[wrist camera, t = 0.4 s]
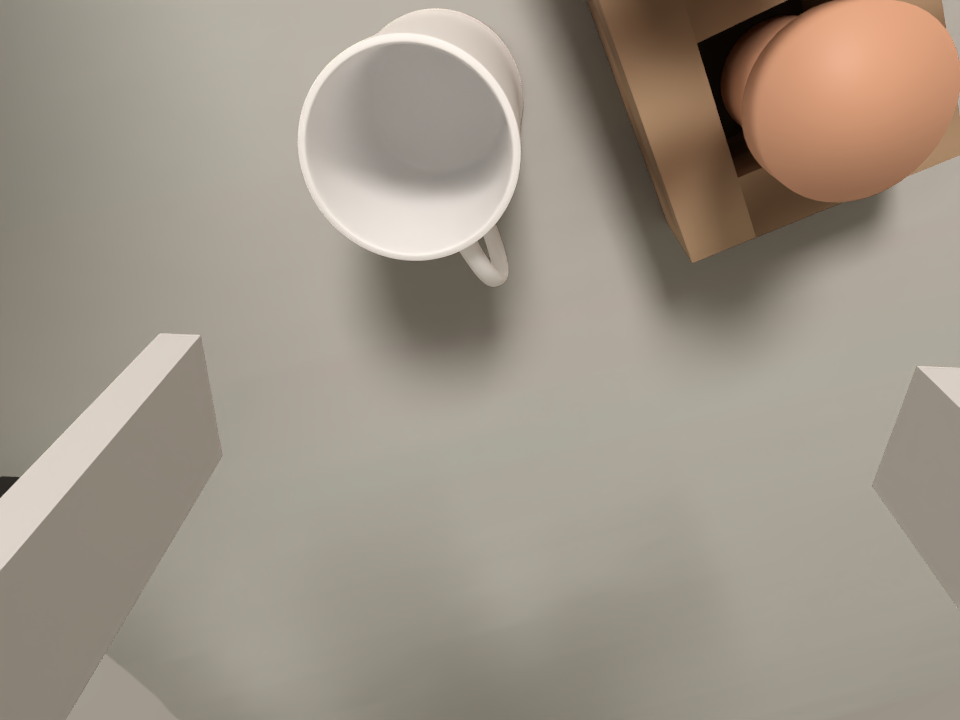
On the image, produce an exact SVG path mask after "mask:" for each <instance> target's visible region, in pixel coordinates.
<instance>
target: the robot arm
mask: <svg viewBox="0 0 960 720" xmlns="http://www.w3.org/2000/svg"><path fill="white" fill-rule="evenodd" d="M221 457H222V450H221V445H220V439H219V434H218V428H217V423H216V417H215V411H214V406H213V400H212V395H211V389H210V384H209V378H208V373H207V367H206V362H205V356H204V350H203V345H202V339H201V335H187V334H164V333H160V334H159V335H158V336H157V337H156V338H155V339H154V340H153V341H152V342H151V343H150V344H149V345H148V346H147V347H146V348H145V349H144V350H143V351H142V352H141V353H140V354H139V355H138V356H137V357H136V358H135V359H134V360H133V361H132V363H131V364H130V365H129V366H128V367H127V368H126V369H125V370H124V371H123V372H122V373H121V374H120V375H119V376H118V377H117V378H116V379H115V380H114V381H113V382H112V383H111V384H110V385H109V386H108V387H107V388H106V389H105V390H104V391H103V392H102V394H101V395H100V396H99V397H98V398H97V399H96V400H95V401H94V402H93V403H92V404H91V405H90V406H89V407H88V408H87V409H86V410H85V411H84V412H83V413H82V414H81V415H80V416H79V417H78V418H77V419H76V420H75V421H74V422H73V423H72V425H71V426H70V427H69V428H68V429H67V430H66V431H65V432H64V433H63V434H62V435H61V436H60V437H59V438H58V439H57V440H56V441H55V442H54V443H53V444H52V445H51V446H50V447H49V448H48V449H47V450H46V451H45V452H44V453H43V454H42V455H41V457H40V458H39V459H38V460H37V461H36V462H35V463H34V464H33V465H32V466H31V467H30V468H29V469H28V470H27V471H26V472H25V473H24V474H23V475H22V476H21V477H5V476H2V477H0V720H66V718H67V716H68V715H69V713H70V712H71V710H72V708H73V707H74V705H75V703H76V702H77V700H78V698H79V696H80V695H81V693H82V691H83V690H84V688H85V686H86V685H87V683H88V681H89V680H90V678H91V676H92V675H93V673H94V671H95V670H96V668H97V666H98V665H99V663H100V661H101V659H102V658H103V656H104V654H105V653H106V651H107V649H108V648H109V646H110V644H111V643H112V641H113V639H114V638H115V636H116V634H117V633H118V631H119V629H120V627H121V626H122V624H123V622H124V621H125V619H126V617H127V616H128V614H129V612H130V611H131V609H132V607H133V606H134V604H135V602H136V601H137V599H138V597H139V595H140V594H141V592H142V590H143V589H144V587H145V585H146V584H147V582H148V580H149V579H150V577H151V575H152V574H153V572H154V570H155V569H156V567H157V565H158V563H159V562H160V560H161V558H162V557H163V555H164V553H165V552H166V550H167V548H168V547H169V545H170V543H171V542H172V540H173V538H174V537H175V535H176V533H177V531H178V530H179V528H180V526H181V525H182V523H183V521H184V520H185V518H186V516H187V515H188V513H189V511H190V510H191V508H192V506H193V505H194V503H195V501H196V499H197V498H198V496H199V494H200V493H201V491H202V489H203V488H204V486H205V484H206V483H207V481H208V479H209V478H210V476H211V474H212V473H213V471H214V469H215V467H216V466H217V464H218V462H219V461H220V459H221ZM872 487H873V488H874V490H875V491H876V492H877V494H878V495H879V497H880V498H881V500H882V501H883V502H884V504H885V505H886V507H887V508H888V510H889V511H890V512H891V514H892V515H893V517H894V518H895V519H896V521H897V522H898V524H899V525H900V527H901V528H902V529H903V531H904V532H905V534H906V535H907V537H908V538H909V539H910V541H911V542H912V544H913V545H914V547H915V548H916V549H917V551H918V552H919V554H920V555H921V556H922V558H923V559H924V561H925V562H926V564H927V565H928V566H929V568H930V569H931V571H932V572H933V574H934V575H935V576H936V578H937V579H938V581H939V582H940V583H941V585H942V586H943V588H944V589H945V591H946V592H947V593H948V595H949V596H950V598H951V599H952V601H953V602H954V603H955V605H956V606H957V608H958V609H959V610H960V368H951V367H928V366H917V367H916V369H915V372H914V375H913V377H912V380H911V383H910V385H909V388H908V391H907V393H906V396H905V399H904V401H903V404H902V407H901V409H900V412H899V415H898V417H897V420H896V423H895V425H894V428H893V431H892V433H891V436H890V439H889V441H888V444H887V447H886V449H885V452H884V455H883V457H882V460H881V463H880V465H879V468H878V471H877V473H876V476H875V479H874V481H873V484H872Z"/></svg>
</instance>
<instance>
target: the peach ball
mask: <svg viewBox="0 0 960 720" xmlns="http://www.w3.org/2000/svg"><path fill="white" fill-rule="evenodd" d="M959 92H960V62H959V58H958V53H957V50H956V47H955V45H954V42H953V40H952V38H951V36H950V35H949V33H948V32H947V30H946V28H945V27H944V26H943V25H942V24H941V23H940V22H939V21H938V20H937V19H936V18H935V17H934V16H932V15H931V14H930V13H929V12H927V11H925V10H923V9H921V8H920V7H918V6H915V5H912V4H909V3H906V2H902V1H896V0H833V1H830V2H826V3H823V4H821V5H818V6H816V7H813V8H811V9H809V10H807V11H806V12H804V13H802V14H800V15H799V16H798V15H780V16H776V17H772V18H769V19H766V20H764V21H762V22H760V23H758V24H756V25H755V26H753V27H752V28H751V29H749V30H748V31H747V32H746V33H745V34H744V35H742V37H741V38H740V39H739V40H738V41H737V42H736V44H735V45H734V46H733V48H732V49H731V51H730V53H729V55H728V57H727V59H726V61H725V64H724V67H723V71H722V76H721V95H722V100H723V103H724V106H725V108H726V110H727V112H728V114H729V115H730V116H731V118H732V119H733V120H734V121H735V122H736V123H737V124H738V125H740V126H741V127H742V129H743V133H744V138H745V140H746V143H747V146H748V148H749V150H750V152H751V153H752V155H753V157H754V158H755V160H756V161H757V162H758V163H759V165H760V166H761V167H762V168H764V169H765V170H766V171H767V172H768V173H769V174H770V175H772V176H773V177H774V178H776V179H777V180H778V181H779V182H781V183H782V184H783V185H785V186H786V187H787V188H789V189H790V190H792V191H793V192H795V193H797V194H799V195H801V196H803V197H806V198H809V199H813V200H816V201H823V202H848V201H854V200H859V199H864V198H867V197H869V196H872V195H875V194H878V193H880V192H882V191H884V190H886V189H888V188H890V187H892V186H893V185H895V184H897V183H898V182H900V181H902V180H903V179H904V178H906V177H907V176H908V175H910V174H911V173H912V172H913V171H914V170H915V169H917V168H918V167H919V166H920V165H921V164H922V163H923V162H924V161H925V160H926V159H927V157H928V156H929V155H930V154H931V153H932V152H933V150H934V149H935V148H936V146H937V145H938V143H939V142H940V141H941V139H942V137H943V135H944V134H945V132H946V130H947V129H948V126H949V124H950V122H951V120H952V117H953V115H954V112H955V109H956V105H957V102H958V97H959Z"/></svg>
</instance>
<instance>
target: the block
mask: <svg viewBox="0 0 960 720" xmlns="http://www.w3.org/2000/svg"><path fill="white" fill-rule="evenodd" d="M784 1H786V0H587V3H588V5H589V8H590V11H591V14H592V17H593V19H594V22H595V25H596V28H597V30H598V33H599V36H600V39H601V41H602V44H603V47H604V50H605V52H606V55H607V58H608V61H609V63H610V66H611V69H612V72H613V74H614V77H615V80H616V83H617V86H618V88H619V91H620V94H621V97H622V99H623V102H624V105H625V108H626V110H627V113H628V116H629V119H630V121H631V124H632V127H633V130H634V132H635V135H636V138H637V141H638V143H639V146H640V149H641V152H642V155H643V157H644V160H645V163H646V166H647V168H648V171H649V174H650V177H651V179H652V182H653V185H654V188H655V190H656V193H657V196H658V199H659V201H660V204H661V207H662V210H663V212H664V215H665V218H666V221H667V223H668V225H669V227H670V228H671V230H672V231H673V233H674V235H675V236H676V238H677V239H678V241H679V243H680V244H681V246H682V247H683V249H684V251H685V252H686V254H687V255H688V257H689V259H690V260H691V262H692V263H694V262H697V261H699V260H702V259H704V258H706V257H709V256H711V255H714V254H716V253H719V252H721V251H724V250H726V249H729V248H731V247H734V246H736V245H739V244H741V243H744V242H746V241H749V240H751V239H753V238H756V237H758V236H761V235H763V234H766V233H768V232H771V231H773V230H776V229H778V228H781V227H783V226H786V225H788V224H791V223H793V222H796V221H798V220H800V219H803V218H805V217H808V216H810V215H813V214H815V213H818V212H820V211H823V210H825V209H828V208H830V207H833V206H835V205H838V204H840V203H843V202H823V201H816V200H813V199H809V198H806V197H803V196H801V195H799V194H797V193H795V192H793V191H792V190H790V189H789V188H787V187H786V186H785V185H783V184H782V183H781V182H779V181H778V180H777V179H776V178H774V177H773V176H772V175H770V174H769V173H768V172H767V171H766V170H765V169H764V168H762V167H761V166H760V165H759V163H758V162H757V161H756V160H755V158H754V157H753V155H752V153H751V152H750V150H749V148H748V146H747V143H746V140H745V138H744V133H743V132H741V133H739V134H736V135H734V136H732V137H730V138H727V139H726V137H725V134H724V131H723V128H722V124H721V121H720V118H719V114H718V111H717V108H716V105H715V101H714V98H713V95H712V92H711V88H710V85H709V82H708V78H707V75H706V72H705V69H704V65H703V62H702V59H701V56H700V52H699V49H698V46H697V43H699V42H701V41H703V40H705V39H707V38H709V37H711V36H713V35H715V34H718V33H720V32H722V31H724V30H726V29H728V28H730V27H732V26H734V25H736V24H738V23H740V22H743V21H745V20H747V19H749V18H751V17H753V16H755V15H757V14H759V13H761V12H763V11H766V10H768V9H770V8H772V7H774V6H776V5H778V4H780V3H782V2H784ZM830 1H833V0H801V2H802V6H803V11H804V12H806V11H807V10H809V9H811V8H813V7H816V6H818V5H821V4H823V3H826V2H830ZM896 1H902V2H906V3H909V4H912V5H915V6H918V7H920V8H921V9H923V10H925V11H927V12H929V13H930V14H931V15H932V16H934V17H935V18H936V19H937V20H938V21H939V22H940V23H941V24H942V25H943V26H944V27H945V28H946V25H945V19H944V12H943V6H942V0H896ZM959 155H960V116H959V109H958V103H957V105H956V109H955V112H954V115H953V117H952V120H951V122H950V124H949V126H948V129H947V130H946V132H945V134H944V135H943V137H942V139H941V141H940V142H939V143H938V145H937V146H936V148H935V149H934V150H933V152H932V153H931V154H930V155H929V156H928V157H927V159H926V160H925V161H924V162H923V163H922V164H921V165H920V166H919V167H918V168H917V169H915V170H914V171H913V172H912V173H911V174H910V175H912V174H914V173H917V172H919V171H922V170H924V169H927V168H929V167H932V166H934V165H937V164H939V163H942V162H944V161H946V160H949V159H951V158H954V157H956V156H959ZM908 176H909V175H908Z"/></svg>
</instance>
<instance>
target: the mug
mask: <svg viewBox="0 0 960 720" xmlns="http://www.w3.org/2000/svg"><path fill="white" fill-rule="evenodd" d="M522 112H523V90H522V83H521V79H520V75H519V72H518V69H517V66H516V64H515V61H514V59H513V57H512V55H511V53H510V52H509V50H508V49H507V47H506V46H505V44H504V43H503V42H502V40H501V39H500V38H499V37H498V36H497V35H496V34H495V33H494V32H493V31H492V30H491V29H490V28H488V27H487V26H486V25H484V24H483V23H482V22H480V21H478V20H477V19H475V18H473V17H471V16H469V15H466V14H464V13H461V12H457V11H453V10H448V9H423V10H418V11H414V12H411V13H408V14H405V15H403V16H401V17H399V18H397V19H395V20H394V21H392V22H391V23H389V24H388V25H386V26H385V27H384V28H383V29H382V30H381V31H380V32H379V33H378V34H375V35H373V36H371V37H369V38H367V39H364V40H362V41H360V42H358V43H356V44H354V45H352V46H351V47H349V48H347V49H346V50H344V51H343V52H341V53H340V54H339V55H338V56H336V57H335V58H334V59H333V60H332V61H331V62H330V63H329V64H328V65H327V66H326V67H325V68H324V69H323V70H322V72H321V73H320V74H319V76H318V77H317V78H316V80H315V82H314V83H313V85H312V87H311V89H310V91H309V93H308V95H307V97H306V99H305V102H304V105H303V108H302V112H301V116H300V121H299V128H298V153H299V160H300V165H301V170H302V173H303V177H304V180H305V182H306V185H307V187H308V190H309V192H310V194H311V196H312V198H313V200H314V201H315V203H316V205H317V206H318V208H319V209H320V211H321V212H322V213H323V215H324V216H325V217H326V218H327V220H328V221H329V222H330V223H331V224H332V225H333V226H334V227H335V228H336V229H337V230H338V231H339V232H341V233H342V234H343V235H344V236H345V237H347V238H348V239H350V240H351V241H352V242H354V243H356V244H357V245H359V246H361V247H363V248H365V249H367V250H369V251H371V252H373V253H376V254H379V255H382V256H385V257H389V258H393V259H399V260H407V261H424V260H432V259H438V258H442V257H446V256H449V255H452V254H454V253H457V252H460V253H461V255H462V256H463V258H464V259H465V261H466V262H467V264H468V265H469V266H470V268H471V269H472V270H473V272H474V273H475V274H476V275H477V277H478V278H479V279H480V280H481V281H482V282H484V283H485V284H486V285H488V286H491V287H496V286H499V285H501V284H503V283H504V282H505V281H506V280H507V278H508V274H509V268H508V261H507V257H506V253H505V249H504V246H503V242H502V239H501V236H500V234H499V231H498V228H497V225H496V223H497V221H498V220H499V219H500V217H501V216H502V215H503V213H504V211H505V210H506V208H507V206H508V204H509V202H510V200H511V198H512V196H513V193H514V191H515V188H516V184H517V181H518V176H519V171H520V163H521V138H520V123H521V119H522ZM482 237H484V240H485V243H486V246H487V249H488V252H489V256H490V260H491V262H490V261H489V259H488V258H487V256H486V255H485V253H484V252H483V250H482V248H481V247H480V245H479V243H478V240H479V239H480V238H482Z"/></svg>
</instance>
